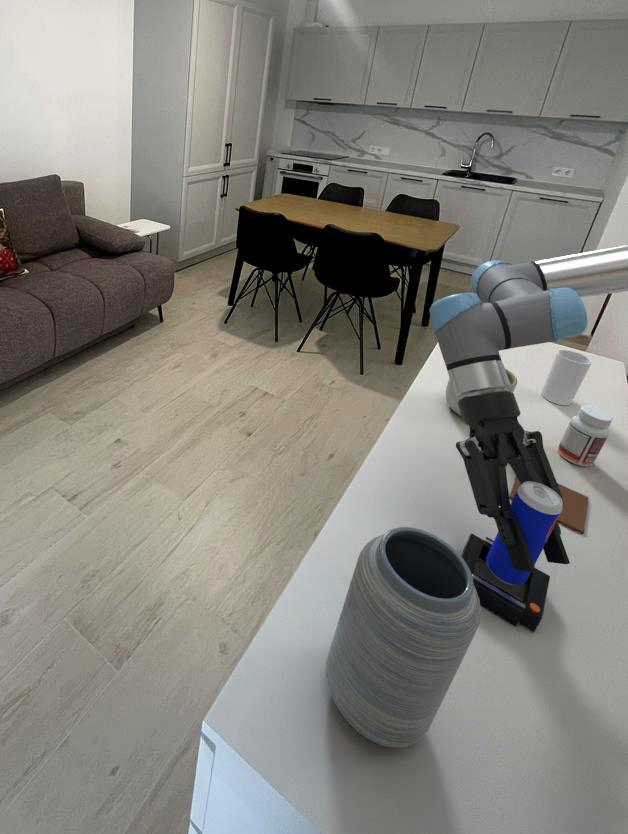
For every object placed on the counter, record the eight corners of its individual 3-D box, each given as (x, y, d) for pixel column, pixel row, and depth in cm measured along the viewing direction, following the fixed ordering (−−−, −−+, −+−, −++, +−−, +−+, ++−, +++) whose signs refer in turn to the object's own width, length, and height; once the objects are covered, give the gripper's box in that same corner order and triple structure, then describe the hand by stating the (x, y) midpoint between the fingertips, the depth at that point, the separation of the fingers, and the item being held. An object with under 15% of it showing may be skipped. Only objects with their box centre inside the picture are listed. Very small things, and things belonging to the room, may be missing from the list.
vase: (448, 736, 55) (520, 598, 46) (365, 779, 51) (426, 637, 42) (377, 635, 65) (424, 504, 56) (302, 664, 61) (341, 529, 52)
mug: (573, 410, 119) (593, 367, 114) (540, 399, 122) (558, 357, 117) (569, 391, 127) (587, 350, 122) (538, 381, 130) (555, 341, 125)
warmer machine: (543, 585, 74) (551, 570, 73) (532, 637, 67) (541, 621, 65) (466, 542, 80) (473, 527, 79) (448, 585, 73) (455, 570, 72)
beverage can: (529, 593, 69) (571, 514, 63) (488, 580, 71) (525, 501, 65) (520, 563, 74) (557, 486, 68) (481, 551, 75) (515, 475, 69)
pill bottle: (589, 454, 104) (612, 409, 99) (595, 472, 99) (620, 426, 94) (554, 443, 106) (575, 399, 102) (559, 460, 101) (581, 414, 97)
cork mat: (587, 499, 92) (588, 497, 91) (582, 534, 84) (584, 532, 84) (519, 468, 98) (520, 466, 98) (508, 498, 90) (509, 496, 90)
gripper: (510, 393, 80) (567, 552, 72) (416, 404, 76) (466, 574, 68) (552, 384, 74) (620, 558, 66) (452, 395, 69) (511, 583, 61)
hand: (541, 566), depth 67 cm, fingers closed on beverage can, 5 cm apart
